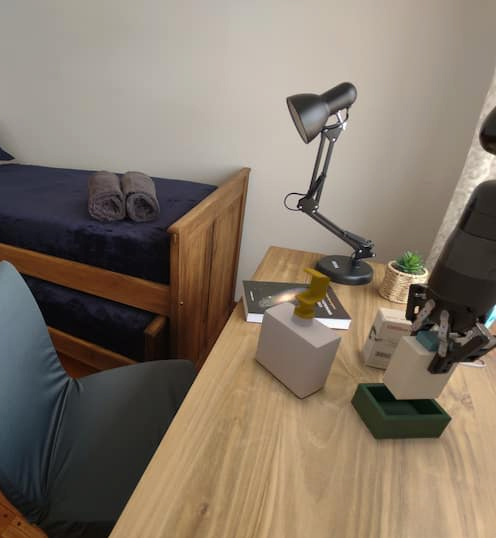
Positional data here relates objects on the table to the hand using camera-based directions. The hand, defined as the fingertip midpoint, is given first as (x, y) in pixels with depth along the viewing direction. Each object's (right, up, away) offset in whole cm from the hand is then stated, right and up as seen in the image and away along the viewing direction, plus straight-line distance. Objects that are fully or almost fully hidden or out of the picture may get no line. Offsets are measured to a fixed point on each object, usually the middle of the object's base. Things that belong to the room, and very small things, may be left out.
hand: (423, 360), depth 55 cm
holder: (0, -12, +7) cm, 14 cm away
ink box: (+7, -5, +18) cm, 20 cm away
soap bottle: (-14, -7, +16) cm, 22 cm away
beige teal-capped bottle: (0, -5, +3) cm, 6 cm away
